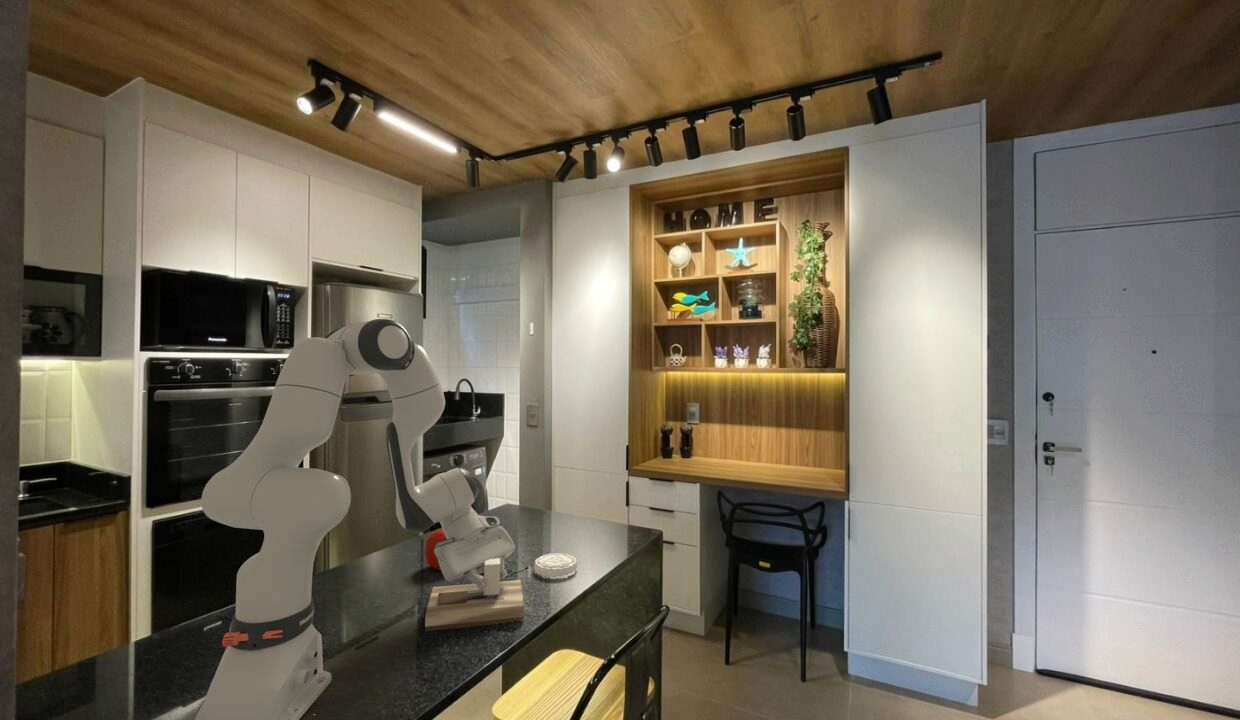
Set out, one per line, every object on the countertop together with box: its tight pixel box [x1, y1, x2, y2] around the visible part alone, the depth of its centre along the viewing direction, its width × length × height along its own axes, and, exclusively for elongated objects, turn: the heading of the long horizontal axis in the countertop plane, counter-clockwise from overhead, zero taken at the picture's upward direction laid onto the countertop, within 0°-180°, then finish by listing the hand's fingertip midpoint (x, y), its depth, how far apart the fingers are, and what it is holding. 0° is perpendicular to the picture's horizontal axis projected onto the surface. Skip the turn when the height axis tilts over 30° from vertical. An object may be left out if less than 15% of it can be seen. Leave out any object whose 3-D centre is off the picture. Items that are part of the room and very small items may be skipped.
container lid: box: [533, 552, 578, 577], centre depth 143 cm, size 12×12×4 cm
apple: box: [424, 528, 447, 571], centre depth 144 cm, size 10×10×12 cm
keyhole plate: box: [424, 579, 525, 632], centre depth 118 cm, size 14×21×4 cm, turn 104°
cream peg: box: [483, 558, 501, 599], centre depth 119 cm, size 5×5×10 cm
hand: (494, 582), depth 119 cm, fingers closed on cream peg, 5 cm apart
